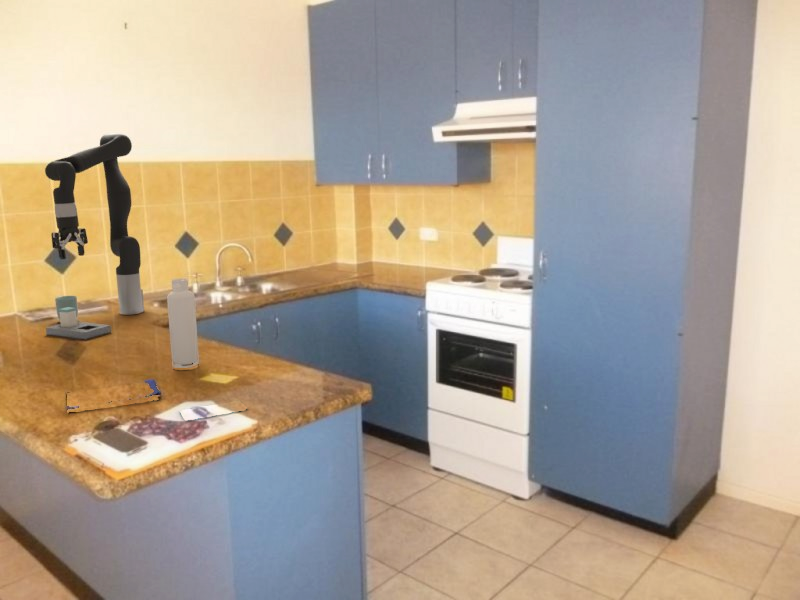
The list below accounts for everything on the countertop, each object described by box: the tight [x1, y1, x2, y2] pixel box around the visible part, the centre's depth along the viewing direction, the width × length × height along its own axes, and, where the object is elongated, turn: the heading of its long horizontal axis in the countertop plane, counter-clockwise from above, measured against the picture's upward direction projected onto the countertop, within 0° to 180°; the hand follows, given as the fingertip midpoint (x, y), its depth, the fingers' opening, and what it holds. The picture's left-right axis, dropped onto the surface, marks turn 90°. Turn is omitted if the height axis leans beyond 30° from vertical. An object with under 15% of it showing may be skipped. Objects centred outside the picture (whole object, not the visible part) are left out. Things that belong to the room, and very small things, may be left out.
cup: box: [54, 295, 79, 321], centre depth 275 cm, size 8×8×10 cm
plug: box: [59, 307, 78, 327], centre depth 256 cm, size 4×4×9 cm
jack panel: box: [45, 320, 112, 341], centre depth 254 cm, size 12×20×3 cm, turn 66°
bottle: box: [166, 277, 200, 368], centre depth 209 cm, size 8×8×28 cm
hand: (72, 257), depth 259 cm, fingers open, 8 cm apart
